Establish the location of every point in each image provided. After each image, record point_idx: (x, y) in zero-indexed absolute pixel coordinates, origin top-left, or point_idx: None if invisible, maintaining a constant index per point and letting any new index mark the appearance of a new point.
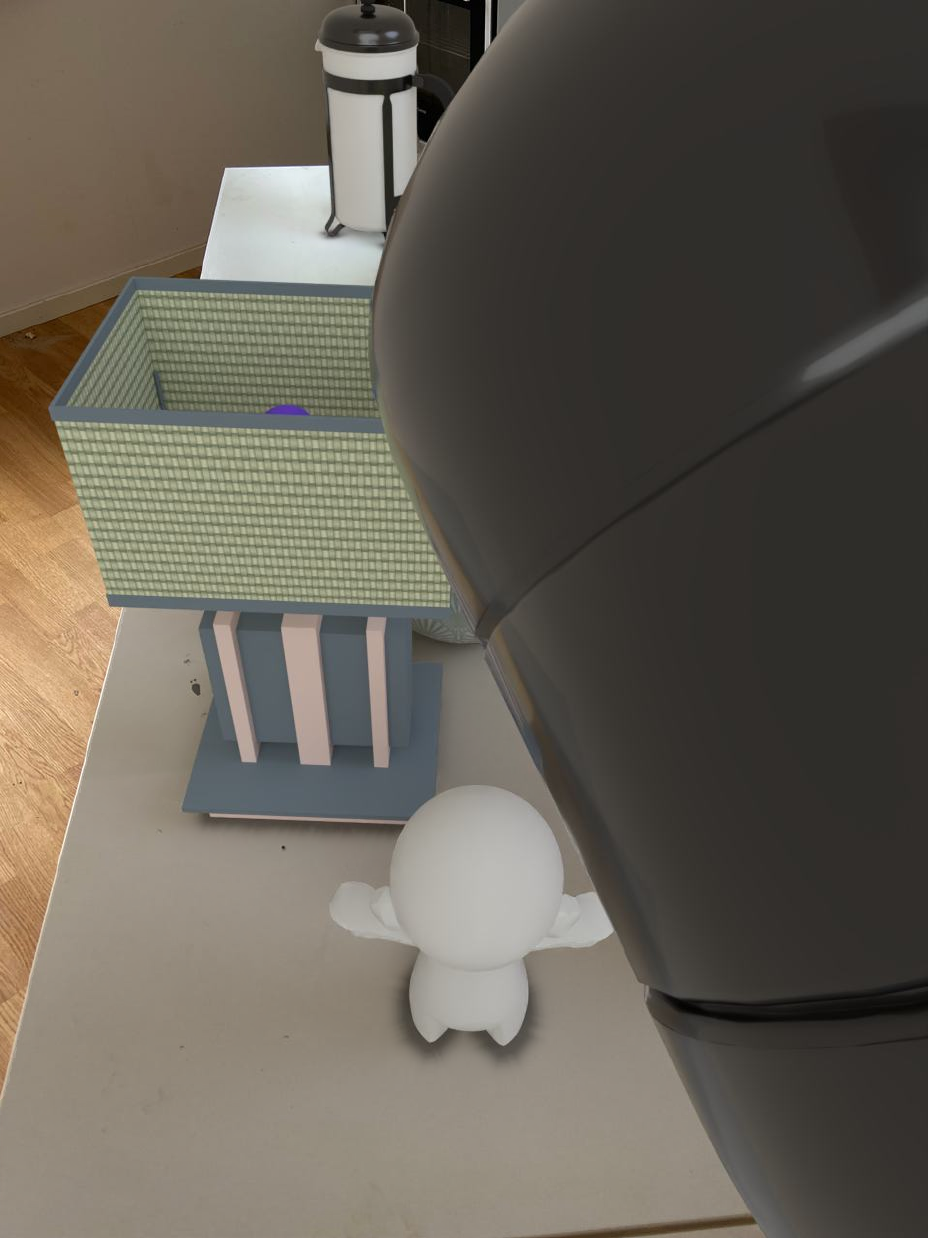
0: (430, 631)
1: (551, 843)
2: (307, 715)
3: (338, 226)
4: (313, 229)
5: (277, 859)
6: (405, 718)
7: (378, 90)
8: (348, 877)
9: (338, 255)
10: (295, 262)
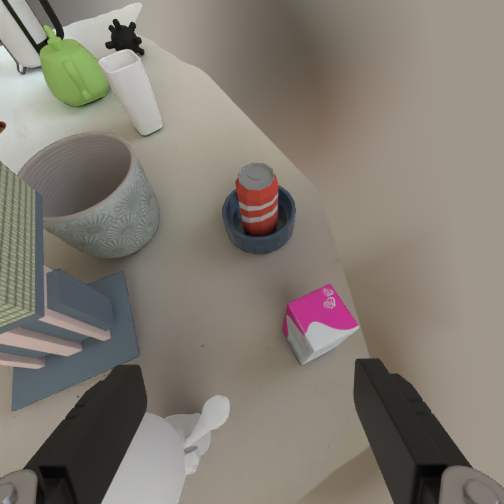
0: (111, 257)
1: (155, 460)
2: (45, 347)
3: (24, 68)
4: (14, 73)
5: None
6: (101, 321)
7: None
8: None
9: (29, 82)
10: (9, 92)
